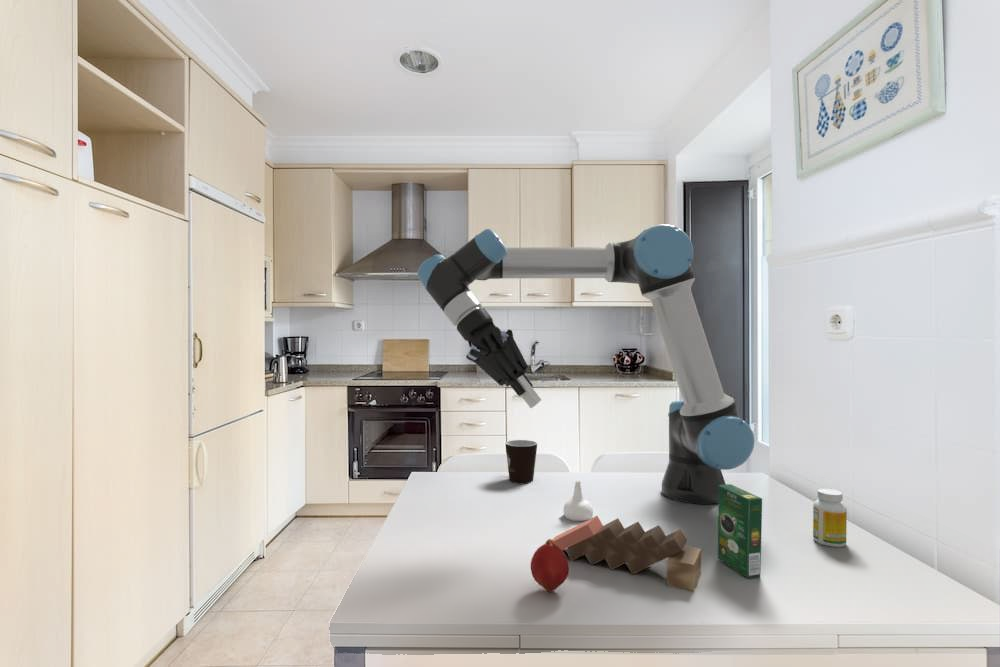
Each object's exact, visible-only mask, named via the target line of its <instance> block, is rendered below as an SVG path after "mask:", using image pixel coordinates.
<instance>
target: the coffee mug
mask: <svg viewBox="0 0 1000 667" xmlns="http://www.w3.org/2000/svg"><path fill="white" fill-rule="evenodd" d="M537 449H538V442H537V441H534V440H528V439H527V440H526V439H515V440H514V439H512V440H508V441H506V442H505V451H506V459H507V469H508V478H509V482H511V481H512V482H511V483H513V482H517V483H516V484H521V483H523V484H528V483H527V482H530V483H532V482H533V481H534V476H535V468H536V459H537V451H538V450H537ZM531 481H532V482H531Z"/></svg>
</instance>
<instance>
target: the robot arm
mask: <svg viewBox="0 0 1000 667" xmlns="http://www.w3.org/2000/svg"><path fill="white" fill-rule="evenodd" d="M499 237H500V236H498V235H497V234H496V233H495V231H494V230H493V229H491V228H485V229H484V230H482V231H481V232H480V233H478V234H475V235H474V237H473V238H472V239H471V240H469V241H468V242H467V243H465V244H464V245H463V246H462V247H461V248H459V249H458V250H456V251H455V252H454V253H453V254H451V255H450V256H448V257H445V256H444V255H443V254H434V255H432V256H431V257H428V258H427V259H425V260H424V261H423V262H422V263H421V264H420V266H419V267H418V270H417V277H418V280H419V282H420V283H421V284H422V285H423V286H424V288H425V290H426V292H428V295H430V297H431V298H432V299H433V301H435V303H436V304H437V305H438V307H440V309H441V310H442V312H443V313H444V314H445V316H446V317H447V319H448V320H449V321H450V322H451V324H452V325H453V326H455V327H456V331H457V332H458V333H459V334H460V336H461V337H462V338H463V339H464V341H466V342H467V343H468V346H469V347H470V348H469V352H468V353H467V355H466V359H467V360H469V361H470V362H472V363H474V364H475V365H477V366H478V367H479V368H481V370H483V371H484V373H486V375H488V376H490V378H491V379H492V380H494V381H495V382H496V383H497V384H498V385H499V386H504V385H505V386H506V387H509V386H510V387H511V388H512V390H513V391H514V393H515V394H516V395H517V396H518V397H521V398H522V399H523V400H524V402H525V403H526V404H527V406H528V407H529V408H530V409H533V408H534V407H535V406H536V405H538V404H539V403H540V402H541V401H542V398H541V397H540V396H539V394H538V393H537V392H536V390H534V388H533V387H534V386H533V383H532V382H531V380H529V378H528V377H527V376H526V374H525V373H527V369H528V367H529V366H528V364H527V362H526V360H525V358H524V356H523V354H522V352H521V350H520V349H519V347H518V345H517V343H516V341H515V339H514V333H513V330H512V329H507V331H505V330H501V329H500V328H499V327H498V326H496V325H495V323H494V320H493V318H492V316H491V315H490V314H489V312H488V311H487V310H486V309H485V308H484V307H482V304H481V302H480V301H479V300H478V299H477V297H476V295H474V293H473V292H472V291H471V289H470V288H469V287H468V286H470V285H471V284H472V283H473V282H474V281H488V280H500V279H604V280H606V281H607V282H608V283H623V284H624V283H626V284H635V285H638V286H639V290H640V293H641V296H642V297H644V298H645V299H648V300H649V301H650V302H651V304H652V308H653V311H654V314H655V316H656V319H657V323H658V326H659V329H660V333H661V336H662V339H663V341H664V345H665V349H666V351H667V355H668V358H669V360H670V364H671V367H672V370H673V373H674V376H675V379H676V382H677V385H678V389H679V391H680V395H681V398H682V400H677V401H676V400H675V401H672V402H671V403H670V404H669V407H668V408H669V409H668V410H669V411H668V415H667V417H668V464H667V467H666V469H665V473H664V475H663V478H662V480H661V493H662V494H663V495H664V496H665V497H667V498H669V499H671V500H675V501H679V502H683V503H690V504H700V505H711V504H718V499H719V485H725V484H726V481H725V478H724V475H723V472H722V470H723V471H725V470H726V471H727V470H733V469H737V468H739V467H740V466H742V465H743V464H745V462H747V461H748V460H749V458H750V456H751V454H752V453H753V451H754V447H755V435H754V432H753V430H752V428H751V427H750V425H749V424H748V423H747V422H746V421H745V420H744V419H743V418H741V417H740V414H739V411H738V407H737V405H736V403H735V402H736V401H735V399H734V398H733V397H732V396H729V395H728V394H726V393H725V392H724V388H723V385H722V382H721V380H720V377H719V374H718V370H717V367H716V364H715V361H714V358H713V355H712V350H711V349H710V346H709V343H708V340H707V336H706V333H705V330H704V327H703V324H702V321H701V318H700V315H699V311H698V308H697V305H696V302H695V299H694V296H693V292H692V289H691V288H692V286H693V283H694V282H695V281H696V278H695V277H696V276H695V274H694V271H693V269H692V265H691V264H692V262H693V259H694V251H695V250H694V246H693V243H692V240H691V238H690V237H689V235H688V234H687V233H686V232H685V231H684V230H682V229H681V228H679V227H677V226H675V225H671V224H658V225H653V226H651V227H649V228H647V229H644V230H643V231H641V232H640V234H638V235H637V236H636V237H634V238H632V239H630V240H626V241H621V242H620V241H619V242H608V243H607V245H604V246H601V247H600V246H575V247H574V246H569V247H568V246H567V247H566V246H565V247H564V246H562V247H559V246H557V247H555V246H554V247H553V246H551V247H548V246H545V247H542V246H541V247H540V246H539V247H506V246H505V244H504V243H503V241H502V240H501V238H499Z"/></svg>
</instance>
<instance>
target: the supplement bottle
mask: <svg viewBox="0 0 1000 667" xmlns="http://www.w3.org/2000/svg"><path fill="white" fill-rule="evenodd" d="M843 499H844V498H843V493H842V491H839V490H836V489H832V488H819V489H818V490H817V499H816V500H815V501H814V502H813V505H812V506H813V509H812V510H813V511H812V512H813V514H812V538H813V540H814V541H815V542H816V543H817V544H820V545H822V546H827V547H831V548H843V547H845V546H846V545H847V517H848V516H847V513H848V512H847V506H846V505H845V504H844V503H843V502H842V501H843Z"/></svg>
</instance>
